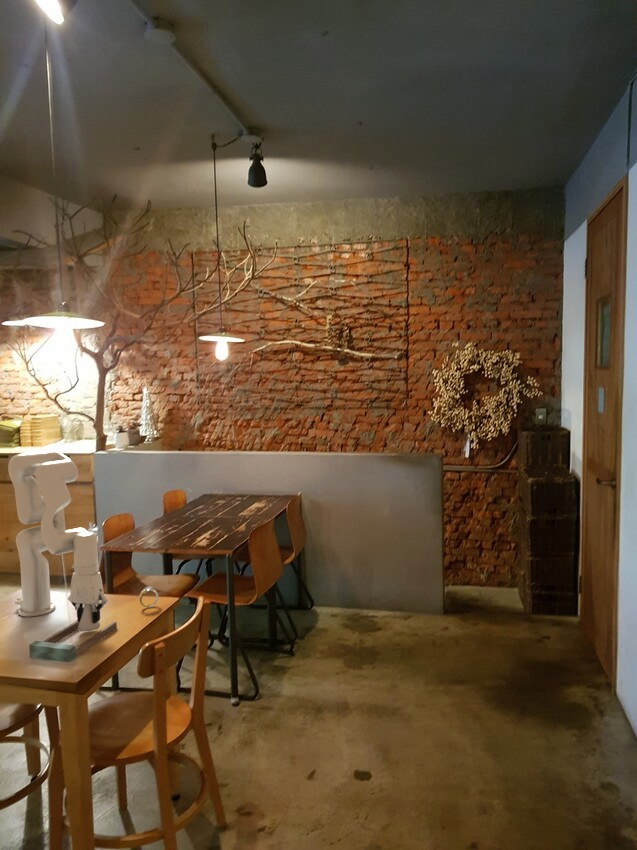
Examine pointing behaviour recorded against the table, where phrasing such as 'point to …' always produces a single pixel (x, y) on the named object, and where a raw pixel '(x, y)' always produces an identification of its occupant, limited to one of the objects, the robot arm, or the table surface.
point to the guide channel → (63, 651)
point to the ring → (145, 593)
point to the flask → (87, 619)
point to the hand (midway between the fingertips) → (88, 620)
